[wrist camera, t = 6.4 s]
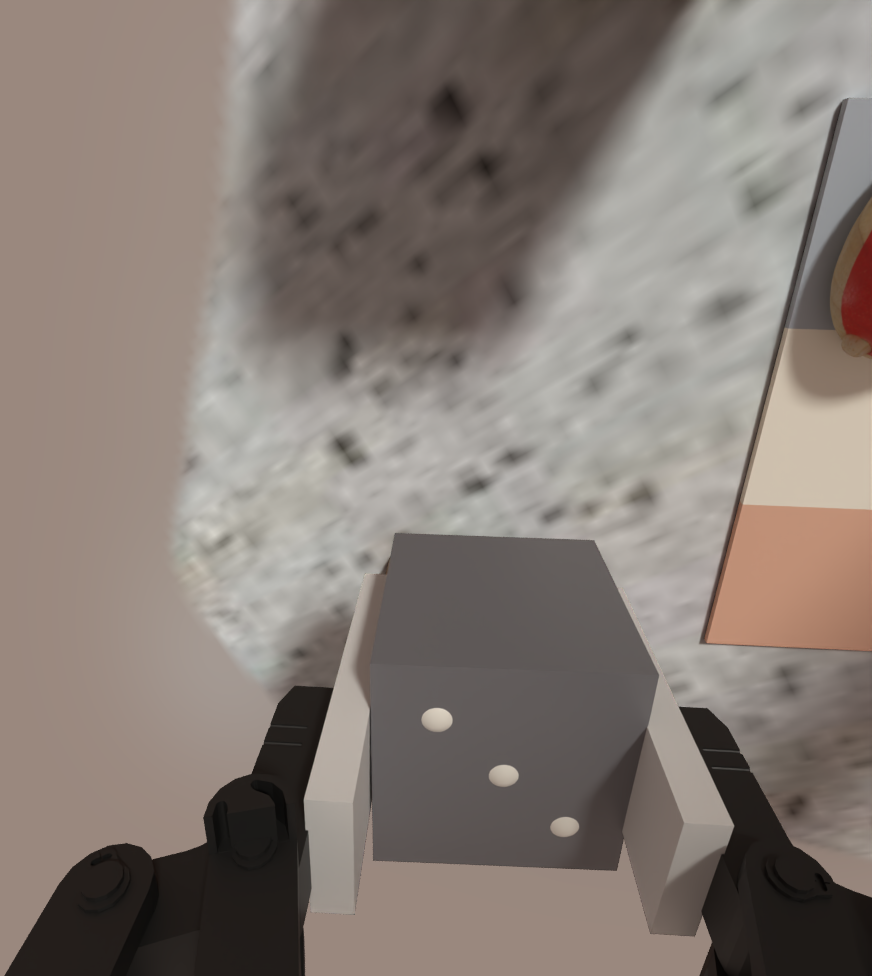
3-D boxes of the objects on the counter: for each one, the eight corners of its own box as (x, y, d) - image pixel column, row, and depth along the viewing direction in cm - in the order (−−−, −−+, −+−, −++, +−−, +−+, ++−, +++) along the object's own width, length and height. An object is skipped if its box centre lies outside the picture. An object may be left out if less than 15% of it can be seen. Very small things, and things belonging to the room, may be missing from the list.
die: (391, 532, 15) (363, 667, 10) (593, 540, 15) (661, 678, 10) (390, 690, 17) (367, 865, 12) (570, 697, 17) (617, 875, 12)
